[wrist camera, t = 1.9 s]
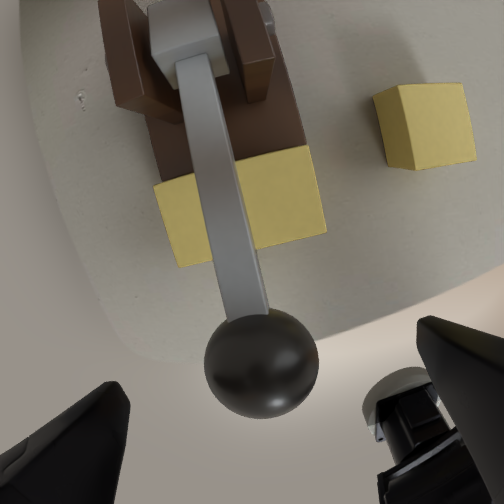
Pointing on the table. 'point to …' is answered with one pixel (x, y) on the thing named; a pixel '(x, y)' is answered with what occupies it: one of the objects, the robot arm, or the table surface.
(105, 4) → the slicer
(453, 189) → the table surface
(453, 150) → the butter pat
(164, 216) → the butter
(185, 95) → the blade
